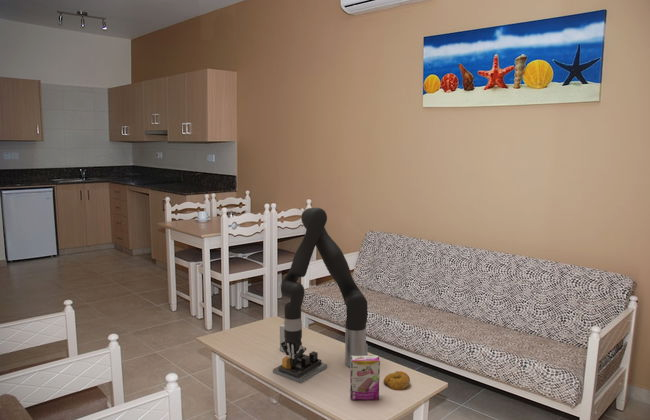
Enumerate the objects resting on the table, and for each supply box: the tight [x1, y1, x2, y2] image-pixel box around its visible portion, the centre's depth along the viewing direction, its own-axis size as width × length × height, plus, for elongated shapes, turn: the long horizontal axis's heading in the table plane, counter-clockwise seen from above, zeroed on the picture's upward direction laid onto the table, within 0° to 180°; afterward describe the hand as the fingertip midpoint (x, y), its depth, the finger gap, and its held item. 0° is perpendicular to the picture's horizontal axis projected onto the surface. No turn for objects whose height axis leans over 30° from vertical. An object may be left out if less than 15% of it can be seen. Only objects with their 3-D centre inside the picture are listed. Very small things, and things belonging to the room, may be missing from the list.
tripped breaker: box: [281, 355, 291, 369], centre depth 214 cm, size 2×3×5 cm
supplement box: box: [279, 323, 300, 353], centre depth 237 cm, size 7×7×13 cm
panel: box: [272, 351, 328, 384], centre depth 216 cm, size 16×18×7 cm
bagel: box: [382, 370, 411, 391], centre depth 204 cm, size 10×11×5 cm
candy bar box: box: [349, 355, 381, 401], centre depth 192 cm, size 11×5×16 cm, turn 92°
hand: (293, 365), depth 212 cm, fingers closed
